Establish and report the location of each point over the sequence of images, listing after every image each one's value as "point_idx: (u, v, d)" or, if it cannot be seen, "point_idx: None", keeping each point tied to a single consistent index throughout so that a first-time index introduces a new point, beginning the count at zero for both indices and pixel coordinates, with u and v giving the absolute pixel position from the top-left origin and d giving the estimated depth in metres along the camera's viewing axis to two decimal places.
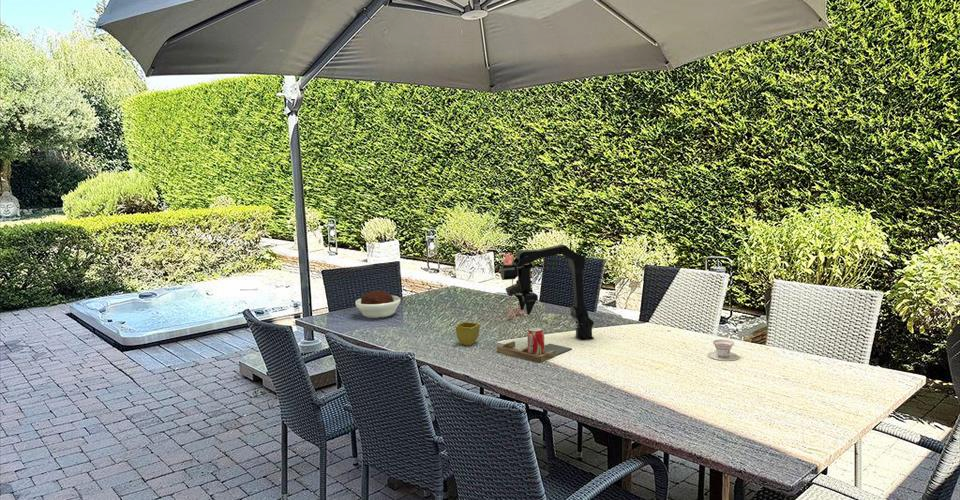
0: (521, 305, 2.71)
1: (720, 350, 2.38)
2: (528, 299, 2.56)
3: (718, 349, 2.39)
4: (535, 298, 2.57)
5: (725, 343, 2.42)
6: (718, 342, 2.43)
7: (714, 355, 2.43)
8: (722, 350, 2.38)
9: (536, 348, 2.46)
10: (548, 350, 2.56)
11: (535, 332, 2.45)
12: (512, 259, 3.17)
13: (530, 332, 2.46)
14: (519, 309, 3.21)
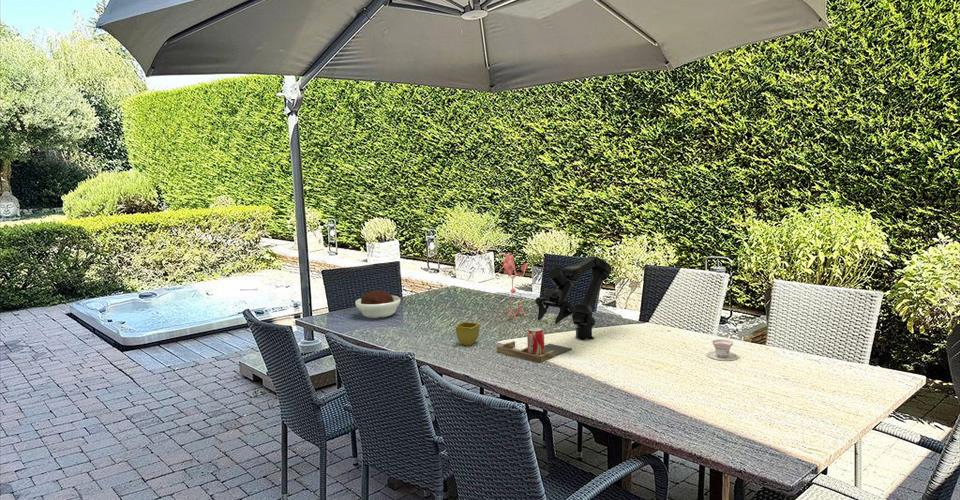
0: (540, 315, 2.58)
1: (719, 350, 2.38)
2: (570, 307, 2.50)
3: (717, 349, 2.39)
4: (574, 311, 2.52)
5: (724, 343, 2.42)
6: (717, 342, 2.43)
7: (713, 354, 2.43)
8: (721, 350, 2.38)
9: (536, 348, 2.46)
10: (548, 350, 2.56)
11: (535, 332, 2.45)
12: (512, 259, 3.17)
13: (530, 332, 2.46)
14: (519, 309, 3.21)
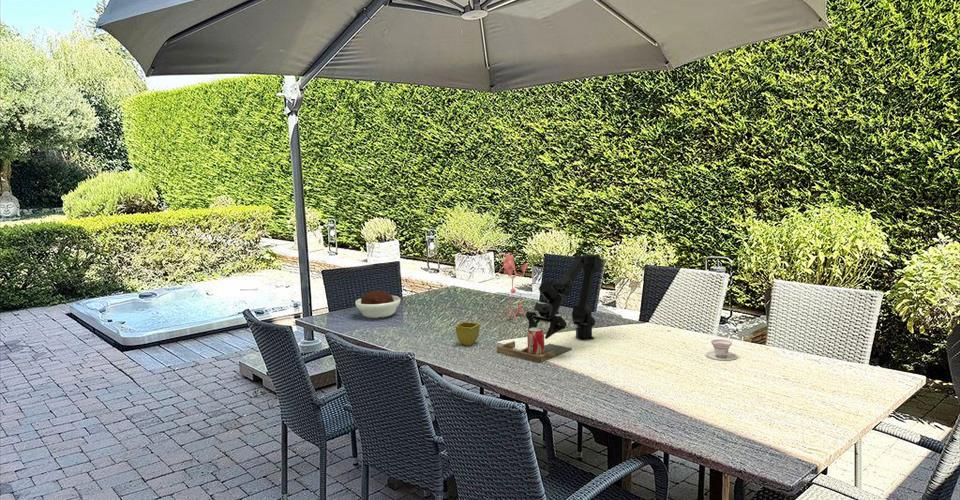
0: None
1: (718, 350, 2.39)
2: (561, 322, 2.45)
3: (716, 349, 2.39)
4: (564, 326, 2.47)
5: (723, 343, 2.43)
6: (716, 342, 2.43)
7: (712, 354, 2.43)
8: (720, 349, 2.38)
9: (536, 348, 2.46)
10: (548, 350, 2.56)
11: (535, 332, 2.45)
12: (512, 259, 3.17)
13: (530, 332, 2.46)
14: (519, 309, 3.21)
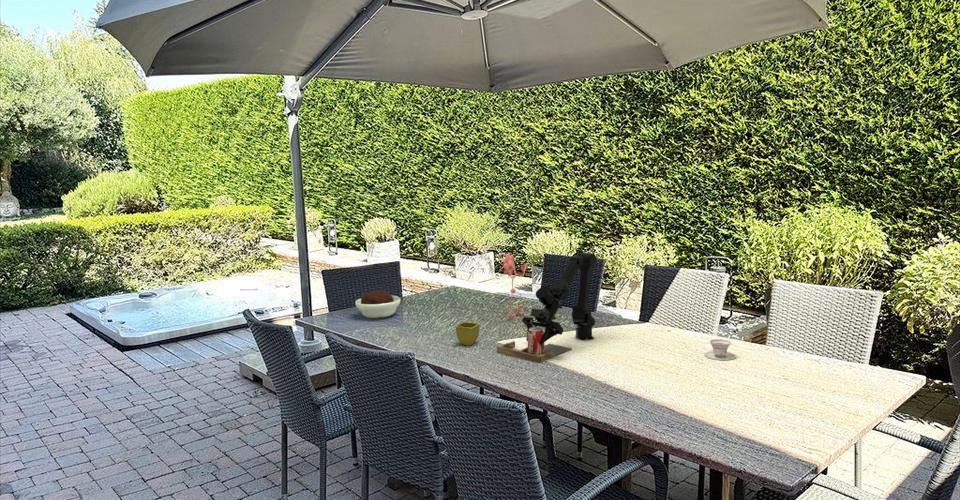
0: None
1: (717, 350, 2.39)
2: (558, 328, 2.44)
3: (715, 349, 2.39)
4: (561, 331, 2.46)
5: (722, 343, 2.43)
6: (715, 342, 2.44)
7: (711, 354, 2.43)
8: (719, 349, 2.38)
9: (536, 348, 2.46)
10: (548, 350, 2.56)
11: (535, 332, 2.45)
12: (512, 259, 3.17)
13: (530, 332, 2.46)
14: (519, 309, 3.21)
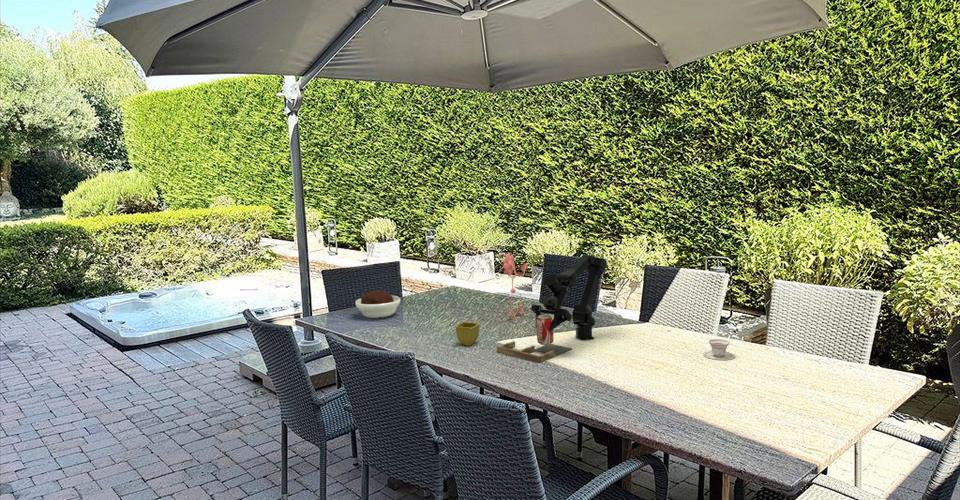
0: None
1: (716, 349, 2.39)
2: (566, 314, 2.47)
3: (714, 348, 2.40)
4: (570, 318, 2.49)
5: (721, 342, 2.43)
6: (714, 341, 2.44)
7: (710, 354, 2.44)
8: (718, 349, 2.39)
9: (545, 335, 2.49)
10: (548, 350, 2.56)
11: (544, 319, 2.49)
12: (512, 259, 3.17)
13: (539, 319, 2.50)
14: (519, 309, 3.21)
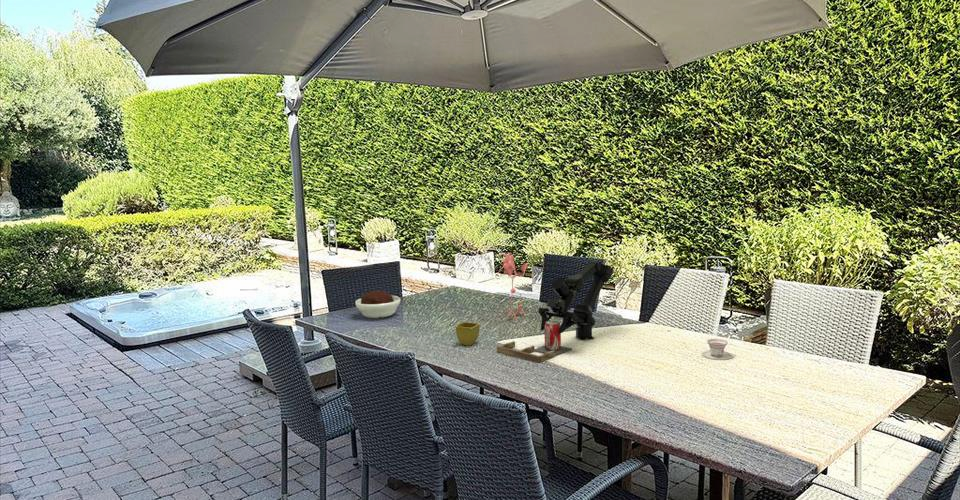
0: (543, 325, 2.59)
1: (714, 349, 2.40)
2: (573, 318, 2.51)
3: (712, 348, 2.40)
4: (577, 321, 2.53)
5: (719, 342, 2.44)
6: (712, 341, 2.44)
7: (708, 354, 2.44)
8: (716, 349, 2.39)
9: (553, 340, 2.53)
10: (548, 350, 2.56)
11: (552, 325, 2.53)
12: (512, 259, 3.17)
13: (547, 325, 2.54)
14: (519, 309, 3.21)
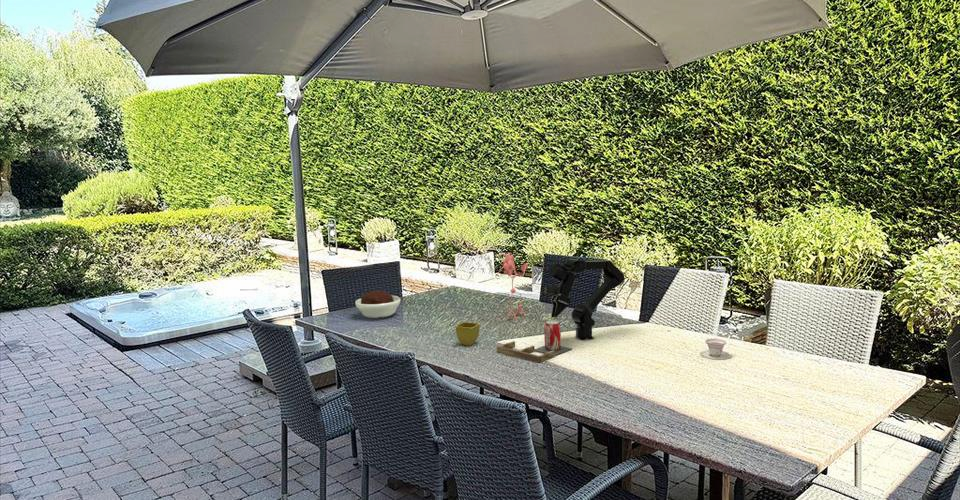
0: (553, 312, 2.70)
1: (713, 349, 2.40)
2: (560, 298, 2.57)
3: (710, 348, 2.40)
4: (567, 301, 2.57)
5: (717, 342, 2.44)
6: (710, 341, 2.45)
7: (707, 354, 2.44)
8: (715, 349, 2.40)
9: (553, 340, 2.53)
10: (548, 350, 2.56)
11: (552, 325, 2.53)
12: (512, 259, 3.17)
13: (547, 325, 2.54)
14: (519, 309, 3.21)
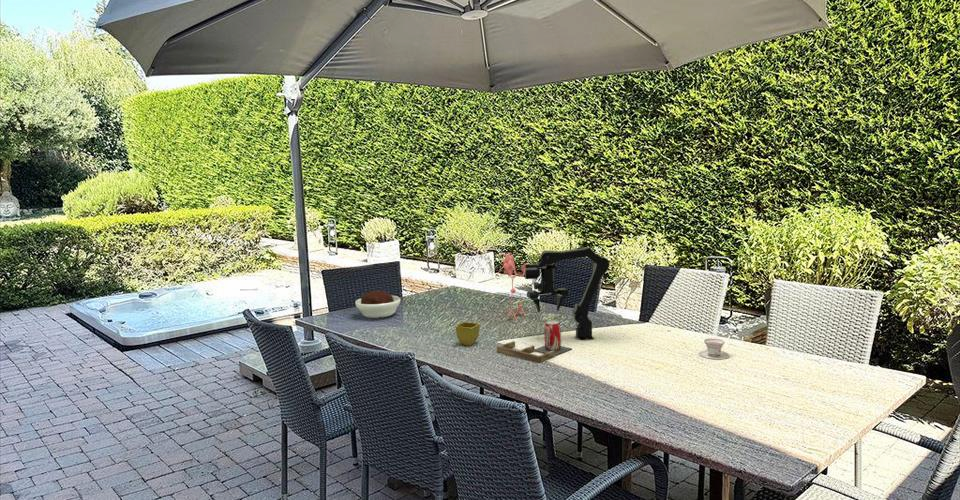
0: (557, 305, 2.74)
1: (711, 349, 2.40)
2: (527, 295, 2.72)
3: (709, 348, 2.41)
4: (529, 296, 2.68)
5: (716, 342, 2.44)
6: (709, 341, 2.45)
7: (705, 353, 2.45)
8: (713, 348, 2.40)
9: (553, 340, 2.53)
10: (548, 350, 2.56)
11: (552, 325, 2.53)
12: (512, 259, 3.17)
13: (547, 325, 2.54)
14: (519, 309, 3.21)
